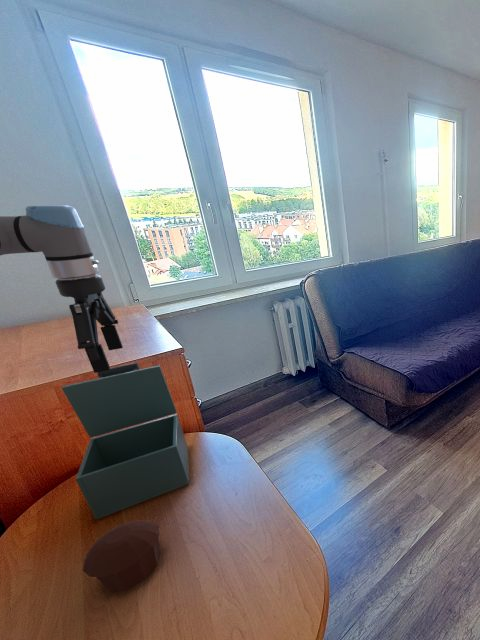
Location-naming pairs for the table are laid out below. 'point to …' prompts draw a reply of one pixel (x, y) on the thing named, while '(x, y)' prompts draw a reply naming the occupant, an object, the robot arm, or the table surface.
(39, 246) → the robot arm
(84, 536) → the table surface
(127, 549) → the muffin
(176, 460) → the chest
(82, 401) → the lid
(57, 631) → the table surface
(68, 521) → the table surface
